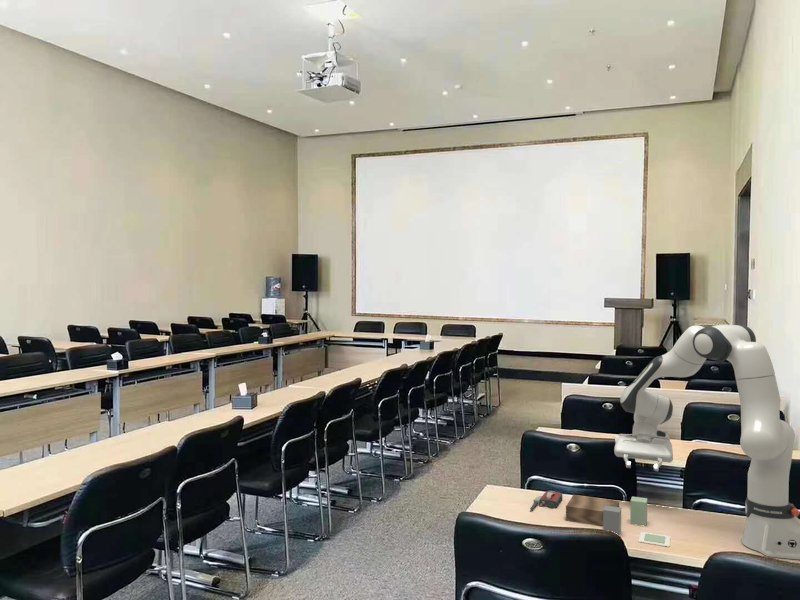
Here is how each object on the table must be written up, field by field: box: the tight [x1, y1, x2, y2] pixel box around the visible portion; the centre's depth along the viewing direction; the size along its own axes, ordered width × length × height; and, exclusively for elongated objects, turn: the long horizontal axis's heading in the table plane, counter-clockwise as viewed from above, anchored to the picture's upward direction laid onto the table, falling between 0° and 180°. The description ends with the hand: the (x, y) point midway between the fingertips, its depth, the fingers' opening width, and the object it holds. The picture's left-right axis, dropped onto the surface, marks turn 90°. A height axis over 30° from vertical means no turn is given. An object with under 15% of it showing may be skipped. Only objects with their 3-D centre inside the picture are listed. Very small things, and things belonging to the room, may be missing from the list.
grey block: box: [602, 506, 622, 536], centre depth 207 cm, size 5×5×8 cm
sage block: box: [629, 496, 648, 527], centre depth 217 cm, size 5×5×8 cm
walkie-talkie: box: [529, 490, 563, 511], centre depth 235 cm, size 9×4×20 cm
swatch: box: [638, 531, 672, 548], centre depth 202 cm, size 9×9×1 cm
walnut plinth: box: [565, 494, 620, 527], centre depth 221 cm, size 16×14×5 cm
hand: (641, 468), depth 228 cm, fingers open, 8 cm apart
